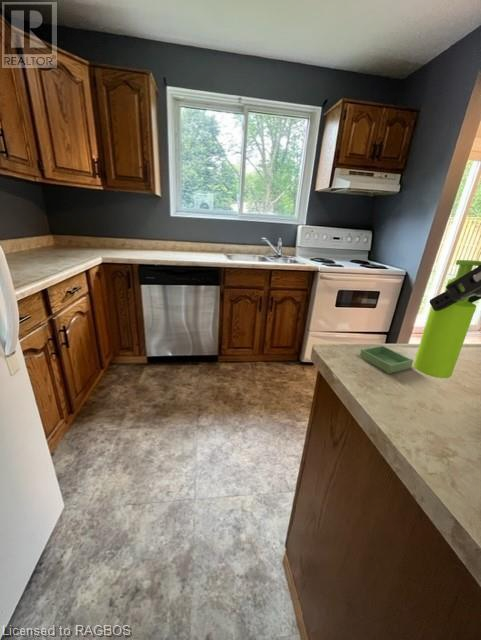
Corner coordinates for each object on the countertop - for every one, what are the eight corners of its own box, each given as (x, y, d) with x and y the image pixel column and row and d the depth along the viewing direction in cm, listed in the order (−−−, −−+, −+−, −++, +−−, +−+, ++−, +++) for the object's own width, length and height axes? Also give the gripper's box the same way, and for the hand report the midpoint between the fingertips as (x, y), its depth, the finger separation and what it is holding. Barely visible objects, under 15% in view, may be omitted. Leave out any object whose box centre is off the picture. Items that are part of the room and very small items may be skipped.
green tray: (359, 357, 77) (361, 349, 76) (380, 353, 80) (382, 345, 79) (388, 374, 69) (390, 365, 68) (410, 368, 72) (413, 360, 71)
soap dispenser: (458, 384, 46) (503, 265, 39) (411, 370, 49) (445, 259, 43) (458, 371, 50) (498, 261, 43) (415, 359, 54) (446, 257, 47)
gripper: (580, 217, 37) (457, 283, 51) (528, 212, 31) (406, 288, 45) (622, 262, 34) (480, 319, 48) (573, 265, 29) (429, 329, 43)
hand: (445, 304), depth 47 cm, fingers closed on soap dispenser, 6 cm apart
